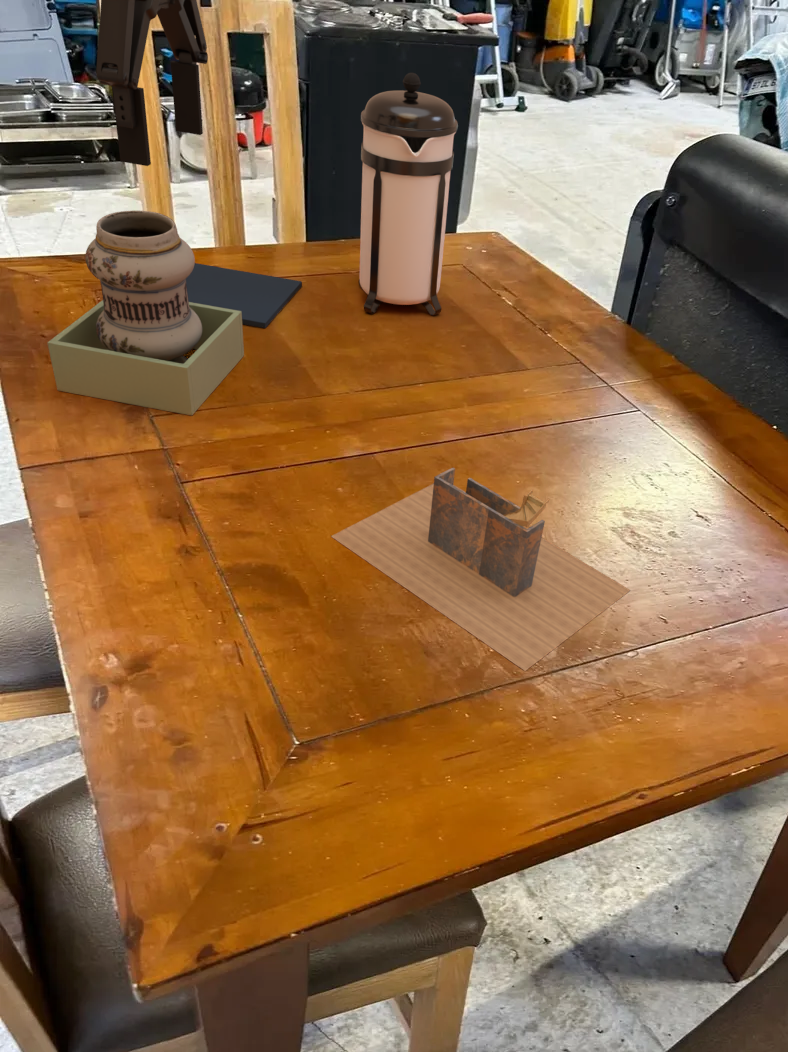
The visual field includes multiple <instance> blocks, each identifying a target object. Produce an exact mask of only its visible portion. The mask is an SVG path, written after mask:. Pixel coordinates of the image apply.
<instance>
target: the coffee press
mask: <svg viewBox="0 0 788 1052" xmlns="http://www.w3.org/2000/svg"><path fill="white" fill-rule="evenodd" d="M402 83H403V88H404V89H405V90H387V91H382V92H379V93H377V94H375V95H373V96H372V97H371V98H369V100H368V101H367V103H366V105H365V107H364V109H363V110H362V111H361V113H360V121H361V124H362V126H363V136H362V137H363V138H362V142H361V145H360V146H361V148H360V149H361V150H360V160H361V162H362V168H361V169H362V173H361V202H360V203H361V206H360V245H359V279H358V285H359V287H360V288H361V289H362V290H363V291H364V293H365V294H367V297H366V300H365V302H364V304H363V311H364V312H366V313H368V314H371V315H375V314H376V313H377V311H378V309H379V308H380V306H381V305H382V303H387V304H391V305H392V304H393V305H402V306H403V305H404V306H405V305H406V306H407V305H408V306H409V305H418V304H420V305H422V306H423V307H424V308H425V309H426V311H427V313H428V314H429V316H431V317H435V316H436V315H439V314H440V313H442V306H441V304H440V301H439V298H438V296H437V295H438V294H439V291H440V288H441V279H442V269H443V260H444V259H443V258H444V248H445V237H446V226H447V214H448V203H449V191H450V181H451V172H452V170H453V169H454V168H453V167H454V166H453V165H454V156H455V152H454V151H453V149H454V138H455V134H456V133H457V131H458V127H459V125H458V124H459V123H458V121H457V119H455V113H454V111H453V109H452V107H451V106H450V105H449V103H447V101H445V100H444V99H441V98H440V97H438V96H435V95H433V94H429V93H424V92H420V91H418V90H419V88H420V87H421V84H422V83H421V79H420V77H419V75H418V74H416V73H414V72H408V73H407V74H405V76H404V77H403V80H402ZM429 301H431V303H432V304H431V303H430V302H429Z"/></svg>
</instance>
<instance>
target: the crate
mask: <svg viewBox="0 0 788 1052" xmlns="http://www.w3.org/2000/svg"><path fill="white" fill-rule="evenodd" d="M189 307H190V308H191V309H192V310H193V311H194V312H195V313H196V314H197V315H198V317H199V319H200V321H201V324H202V335H201V338H200V340H199V342H198V343H197V344H196V346H195V347H194V348H193V349H192V350H195V352H194V353H193V354H191V355H190V357H189V358H188V360H187V361H186V362H185V363H184V364H181V363H175V362H170V361H164V360H159V359H153V358H148V357H142V356H137V355H131V354H126V353H120V352H115V351H110V350H108V349H107V348H106V347H105V346H104V345H103V344H102V343H101V342H100V340H99V338H98V336H97V333H96V323H97V320H98V317H99V315H100V314H101V312H102V311H103V310H104V303H103V299H101V301H99V302H98V303H97V304H95V306H93V307H92V308H90V309H89V310H88V311H87V312H85V313H84V314H83V315H82V316H80V317H79V318H77V319H76V320H75V321H74V322H72V323H71V324H69V325H68V326H67V327H65V329H63V330H62V331H60V332H59V333H58V334H57V335H55V336H54V337H53V338H51V339H50V340H49V341H47V348H48V353H49V357H50V362H51V366H52V372H53V375H54V380H55V386H56V390H57V391H58V392H63V393H70V394H74V395H80V396H86V397H90V398H95V399H101V400H106V401H111V402H118V403H123V404H127V405H133V406H139V407H144V408H149V409H155V410H160V411H164V412H165V411H166V412H171V413H176V414H180V415H181V414H182V415H187V416H193V415H194V414H195V413H196V412H197V411H198V410H199V408H200V407H202V405H203V404H204V402H206V400H207V399H208V398H209V397H210V396H211V394H212V393H213V392H214V391H215V390H216V389H217V387H218V386H219V385H221V383H222V382H223V381H224V379H225V378H226V377H228V375H229V374H230V373H231V372H232V370H233V369H234V368H235V367H236V366H237V364H239V362H240V361H241V360H242V358H244V356H245V349H244V347H245V346H244V331H243V329H244V328H243V324H242V312H241V311H237V310H232V309H226V308H220V307H215V306H209V305H203V304H197V303H192V302H189Z"/></svg>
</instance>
